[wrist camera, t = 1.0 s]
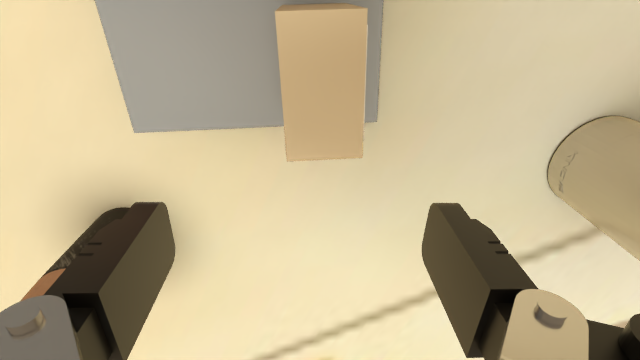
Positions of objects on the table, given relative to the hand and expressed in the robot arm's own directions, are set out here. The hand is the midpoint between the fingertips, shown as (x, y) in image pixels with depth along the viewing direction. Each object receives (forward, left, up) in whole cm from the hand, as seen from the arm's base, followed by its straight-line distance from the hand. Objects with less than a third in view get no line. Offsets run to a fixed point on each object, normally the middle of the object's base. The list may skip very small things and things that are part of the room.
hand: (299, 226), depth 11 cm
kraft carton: (-1, -2, -19) cm, 19 cm away
